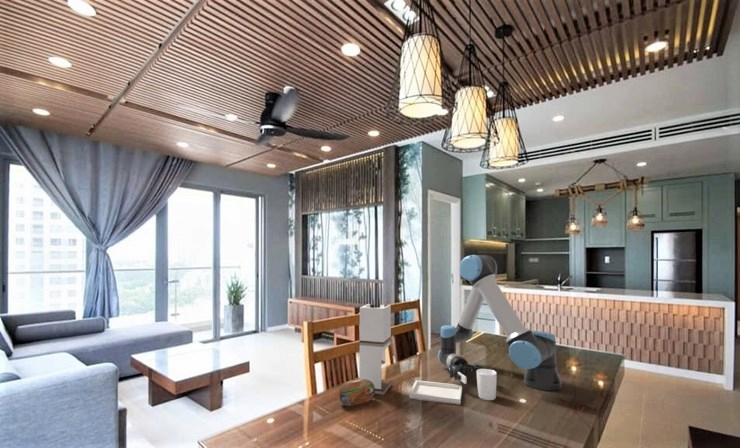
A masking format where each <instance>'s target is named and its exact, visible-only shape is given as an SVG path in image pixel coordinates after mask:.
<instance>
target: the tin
mask: <svg viewBox="0 0 740 448" xmlns="http://www.w3.org/2000/svg"><path fill="white" fill-rule="evenodd" d="M374 395H375V387H374V384H373V383H372V382H371V381H369V380H367V379H361V380H359V379H357V380H352V381H346V382H344V383H343V384H342V385H341V386H340V387H339V389H338V394H337V396H338V400H339V401H340V403H341V404H342V405H344V406H346V407H351V406H355V405H360V404H365V403H368V402H370V401H371V400H372V399H373V397H374Z"/></svg>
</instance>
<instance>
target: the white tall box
mask: <svg viewBox="0 0 740 448" xmlns="http://www.w3.org/2000/svg"><path fill="white" fill-rule="evenodd" d="M391 308H392V307H391V304H388V305H385V306H383V307H371V304H370V303H367V304H365V305H364V304H363V306H360V307H359V359H358V361H359V362H358V363H359V364H358V365H359V366H358V367H359V378H358V380H361V379H367V380H369V381H371V382H372V383H373V384H374V387H375V393H374V395H375V394H376V395H382V396H384V394H386V392H387V391H388V390H389V388H390V387H391V386H392V382H391V380H390V379H383V378H382V365H384V364H386V349H387V348H388V347H389V346H390V345H391V344H392V334H391V333H392V331H391V329H392V325H391V324H392V321H391V319H392V315H391V313H392V312H391V310H392V309H391Z"/></svg>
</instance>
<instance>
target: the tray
mask: <svg viewBox="0 0 740 448" xmlns="http://www.w3.org/2000/svg"><path fill="white" fill-rule="evenodd" d="M462 394H463V385H462V384H456V383H454V384H453V383H446V382H445V383H444V382H437V381H426V380H425V381H424V380H416V379H415V381H414V383H413V384H412V387H411V389H410V391H409V393H408V398H409V400H418V401H425V402H434V403H442V404H449V405H450V404H451V405H459V406H460V405H461V403H462V401H461V400H462Z"/></svg>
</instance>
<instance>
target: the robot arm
mask: <svg viewBox="0 0 740 448" xmlns="http://www.w3.org/2000/svg"><path fill="white" fill-rule="evenodd" d="M458 268H459V274H460V276H461V277H462V278H463V279H464V280H466V281H468V282H469V283H470V285H471V286H472V287H471V290H470V292H469V294H468V297H467V300H466V303H465V305H464V308H463V311H462V313H461V315H460V318H459V321H458V323H457V325H456V326H454V325H450V324H446V325H442V326H441V327H440V349H439V350H438V353H437V358H438V360H439V362H441V364H442V365H444V366H446V367H447V368H448V372H449V378H450V379H453V378H454V381H458V380H459V381H460V382H462V384H465V385H466V384H467V383H468V382H467V381H468V380H467V376H466V375H464V374H472V375H473V374H477V373H476V371H477V370H478V369H490V370H493V368H491V367H487V366H483V365H479V364H477V363H473V364H470V363H469V362H468V361H467V360H466V359H465V358H464V357H462V356H461V355H459V354H457V344H459V343H462V342H468V341H469V340H471V339H472V337H473V335H474V331H473V327H474V326H475V323H476V320H477V318H478V315H479V314H480V310H481V308H482V306H483V304H484V301H485V303H486V304H487V307H488V308H489V309H490V312H491V313H492V314H493V316H494V318H495V320H496V321H497V322H498V324H499V326H500V327H501V329H502V331H503V332H504V334H505V336H506V341H505V342H506V345H507V346H508V350H509V351H508V355H509V358H510V359H511V361H512V362H513V364H514V365H515V366H516V367H518V368H521V369H522V370H525V373H524V376H523V383H524V384H525V385H526V386H528V387H529V388H533V389H536V390H541V391H559V390H561V389H562V386H563V385H562V380H561V377H560V374H559V372H558V369H557V349H556V348H557V341H556V336H555V334H554V333H551V332H546V331H542V330H541V331H538V330H532V329H530V328H526V327H525V325H524V324H523V322H522V320H521V319H520V318H519V316H518V315H517V313H516V311H515V309H513V307H512V305H511V303H510V302H509V300H508V299H507V297H506V295H504V293H503V291H502V290H501V288H500V287H499V285H498V284H497V283H498V282H496V277H497V273H498V265H497V262H496V260H495V259H494V258H493V257H492V256H490V255H488V254H482V255H481V254H480V255H479V254H478V255H476V254H471V255H470V254H469V255H467V256H464V258H463V259H462V260H461V261H460V263H459V267H458Z"/></svg>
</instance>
